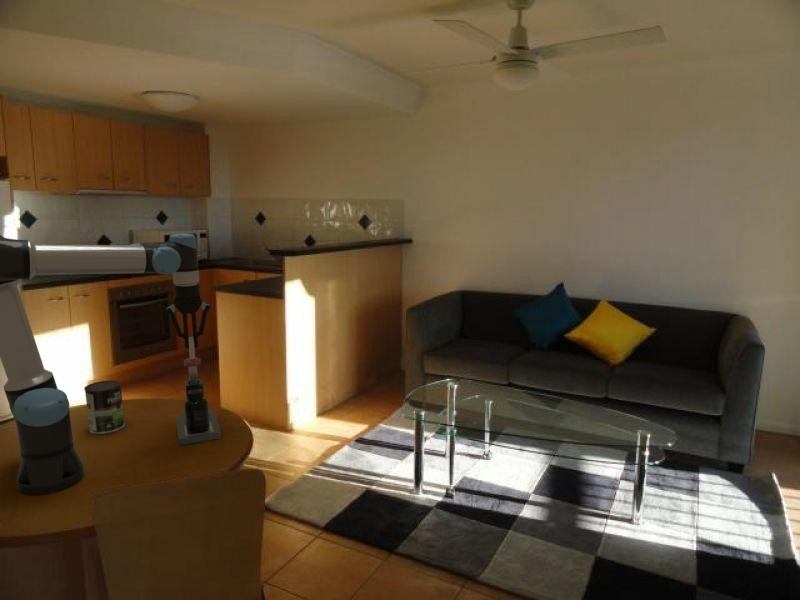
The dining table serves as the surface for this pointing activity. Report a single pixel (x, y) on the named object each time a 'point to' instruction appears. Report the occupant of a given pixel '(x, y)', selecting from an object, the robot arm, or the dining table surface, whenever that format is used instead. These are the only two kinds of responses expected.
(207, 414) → the supplement bottle
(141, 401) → the dining table surface
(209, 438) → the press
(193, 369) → the plunger
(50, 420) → the robot arm
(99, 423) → the coffee can
